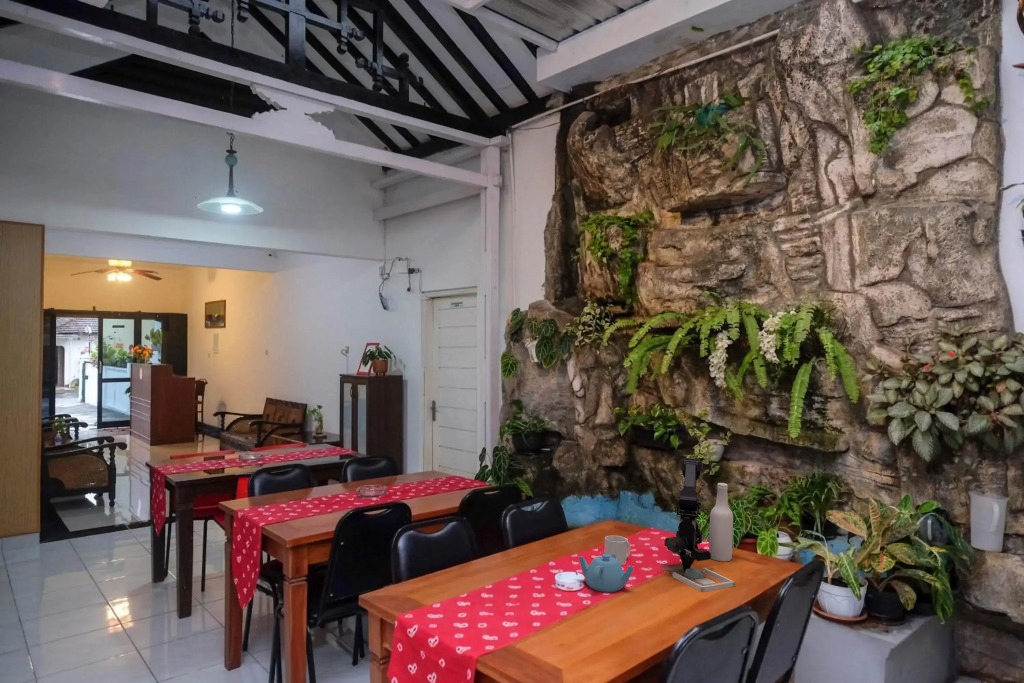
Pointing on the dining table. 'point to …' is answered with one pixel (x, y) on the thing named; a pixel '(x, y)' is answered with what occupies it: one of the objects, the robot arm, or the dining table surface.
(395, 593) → the dining table surface
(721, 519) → the alcohol
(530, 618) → the dining table surface
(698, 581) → the white tile
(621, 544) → the mug
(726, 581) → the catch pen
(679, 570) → the board
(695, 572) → the sage green block
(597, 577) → the teapot
